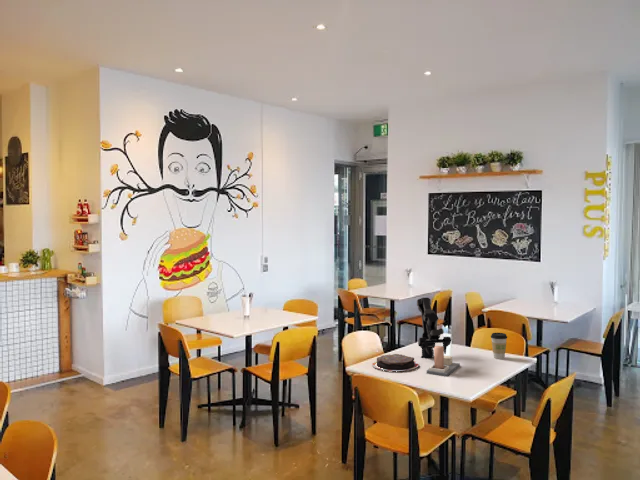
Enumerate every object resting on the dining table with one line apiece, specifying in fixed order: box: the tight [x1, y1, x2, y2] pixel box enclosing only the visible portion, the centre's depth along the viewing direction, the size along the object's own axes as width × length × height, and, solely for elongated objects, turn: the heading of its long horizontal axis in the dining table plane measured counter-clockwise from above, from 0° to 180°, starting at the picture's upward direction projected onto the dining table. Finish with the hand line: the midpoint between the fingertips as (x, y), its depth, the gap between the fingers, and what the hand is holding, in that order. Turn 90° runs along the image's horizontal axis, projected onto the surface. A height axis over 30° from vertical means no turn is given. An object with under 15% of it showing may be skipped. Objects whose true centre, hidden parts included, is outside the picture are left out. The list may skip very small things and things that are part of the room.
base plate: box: [426, 355, 461, 377], centre depth 305 cm, size 12×23×6 cm, turn 148°
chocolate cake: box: [371, 353, 420, 373], centre depth 315 cm, size 28×28×7 cm
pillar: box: [433, 345, 445, 369], centre depth 300 cm, size 5×5×13 cm
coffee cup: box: [490, 332, 508, 360], centre depth 326 cm, size 10×10×15 cm
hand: (437, 354), depth 303 cm, fingers open, 9 cm apart
